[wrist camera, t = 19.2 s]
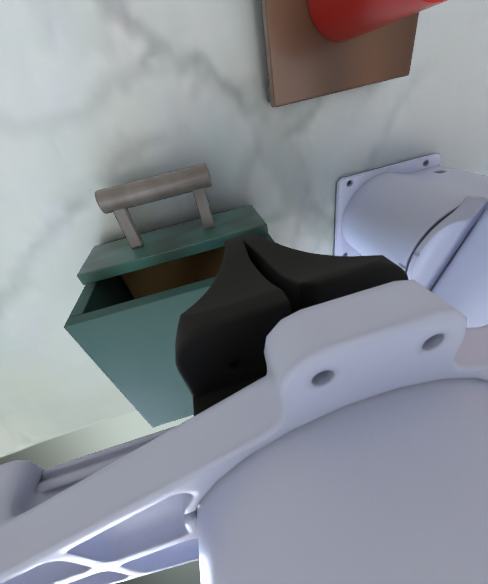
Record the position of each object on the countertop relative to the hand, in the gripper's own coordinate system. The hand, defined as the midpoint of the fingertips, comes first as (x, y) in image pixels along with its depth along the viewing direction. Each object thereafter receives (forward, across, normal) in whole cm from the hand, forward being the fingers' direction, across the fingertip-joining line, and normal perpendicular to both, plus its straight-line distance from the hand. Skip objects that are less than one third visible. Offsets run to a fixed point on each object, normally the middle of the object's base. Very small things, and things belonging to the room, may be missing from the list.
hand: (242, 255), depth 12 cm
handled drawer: (+9, +4, +5) cm, 11 cm away
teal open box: (+10, +4, +8) cm, 14 cm away
